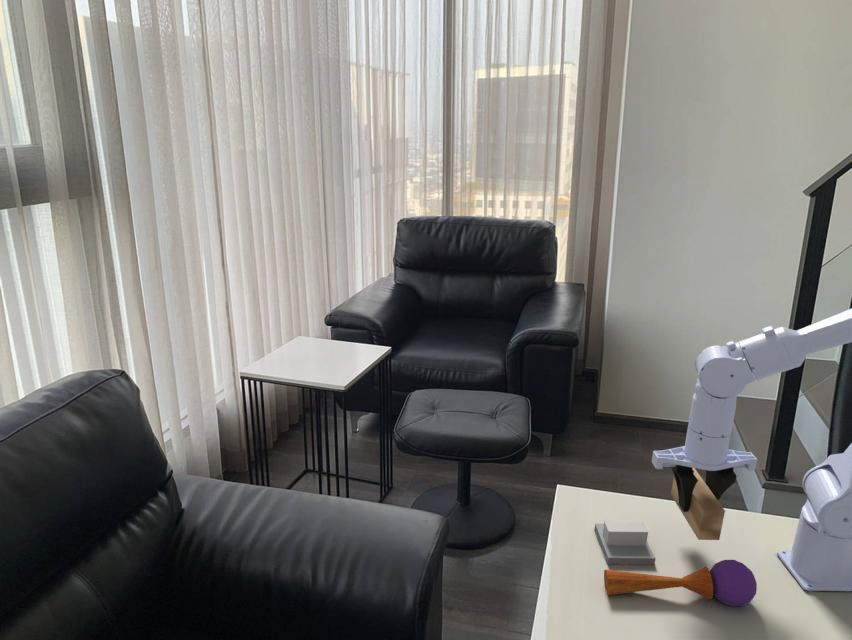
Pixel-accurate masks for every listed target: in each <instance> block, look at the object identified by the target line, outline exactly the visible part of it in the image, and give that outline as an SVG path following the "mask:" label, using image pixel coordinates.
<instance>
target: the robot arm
mask: <svg viewBox="0 0 852 640" xmlns="http://www.w3.org/2000/svg"><path fill="white" fill-rule="evenodd" d="M850 343H852V308H849V309H847V310H844V311H841V312H840V313H839V312H838V313H837V314H835V315H831V316H830V317H827V318H825V319H822V320H819V321H817V322H815V323H812V324H809V325H807V326H805V327H802V328H799V329H797V330H796V329H795V330H794V329H791V328H789V327H788V328H787V327H785V326H779V327H776V328H774V327H773V326H772V325H769V326H765V327H764V328H762V329H761V333H759V334H757V335H754V336H751V337H748V338H744V339H742V340H739V341H736V342H734V340H731V341H729V342H726V344H725V345H722V346H720V345H719V344H717V345H711V346H708V347H706V348H704V349H703V350H702V351H701V353H699V354H698V356H697V358H696V359H694V367H695V371H696V373H697V374H698V375H697V376H698V377H697V379H696V383H695V386H694V393H693V395H692V400H691V407H690V411H689V412H690V413H689V418H688V424H687V425H688V426H687V430H686V436H685V443H684V445H682V446H679V447H673V448H667V449H663V450H653V451H652V457H651V464H652V466H653V467H654V468H655V469H656V470H663V469H664V468H669V467H670V469H671V470H672V473H673V478H674V477H675V480H676V484H677V489H678V497H679V505H680V507H681V509H682V510H683V512H688V510H689V508H690V503H691V497H692V493H693V490H694V487H695V485H696V483H697V482H698V480H697V478H696V477H695V475H694V471H693V470H692V468H695V469H698V470H703V471H705V480H704V482H705V483H706V485H707V486H708V488H709V489H710V490H711V492H712V493H713V495H714V496H715V497H716V499H717V500H718V501H719V500H720V498H721V497H722V496H723V495H724V493H725V492H726V491H727V490H728V489H729V488H730V487H732V485H734V484H735V483H736V481H737V474H736V473H735V472H734V469H736V468H737V469H743V468H744V469H746V470H747V471H756V467H757V464H758V458H757V457H756V456H755V455H754V454H753V453H752V452H751V451H739V450H736V449H735V450H733V449H729V446H730V442H731V441H730V440H731V435H732V430H733V426H734V420H735V415H736V410H737V399H738V395H740V394H741V393H742V392H743V391H744V390H745V388H746V386H748V384H750V383H754V382H755V381H759V380H763V379H765V378H768V377H772V376H774V375H778V374H781V373H783V372H787V371H790V370H792V369H795V368H800V367H801V366H802V365H803V363H804V362H805V360H806V358H807V357H808V355H809V354H814V353H817V352H821V351H824V350H828V349H832V348H835V347H839V346H843V345H846V344H850ZM801 484H802V489H803V491H804V492H805V495H807V499H806V502H805V504H803V506H802V508H801V511H800V515H799V519H798V523H797V527H796V531H795V535H794V538H793V539H794V540H793V544H792V548H791V550H777V551H776V555H777V557H779V559H780V560H781V561H782V563H783V564H784V566H785V567H786V568H787V570H789V572H790V574H791V575H792V576H793V577H794V579H795V580H796V581H797V582H798V584H799V585H800V586H801V588H802V589H803V590H805V591H821V592H822V591H823V592H824V591H826V592H827V591H828V592H829V591H830V592H852V442H851V443H850V444H849V445H848V447H847V448H846V449H845V450H844V452H842V453H836V454H834V453H833V454H830V455H829V456H828V457H826V459H825V460H824V461H823V462H822V463H820V464H819V465H817V466H814V467H811V468H810V469H809V470H807V472H806V473H805V474H804V476H803V478H802V483H801Z"/></svg>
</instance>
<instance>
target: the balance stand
mask: <svg viewBox="0 0 852 640" xmlns="http://www.w3.org/2000/svg"><path fill="white" fill-rule="evenodd" d="M593 530H594V532H595V535H596V538H597V541H598V543H599V546H600V548H601V551H602V553H603V556H604V559H605V562H606V564H607V565H626V566H627V565H629V566H631V565H632V566H633V565H636V566H638V565H639V566H640V565H641V566H655V564H656V557H655V555H654V553H653V551H652V548H651V546H650V545H649V543H648V537H649V531H648V529H647V527H646V525H645V523H644V522H643V521H604V522H603V523H595V524H594V529H593Z"/></svg>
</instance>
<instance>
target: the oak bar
mask: <svg viewBox="0 0 852 640" xmlns="http://www.w3.org/2000/svg"><path fill="white" fill-rule="evenodd" d="M696 469H697V468H692V470H693V471H694V475H695V477H696V478H697V480H698V482H697V483H696V485H695V487H694V490H693V493H692V497H691V503H690V508H689V510H688V512H683V510H682V509H681V507H680V505H679V497H678V489H677V484H676V480H675V477H674V476H673V479H672V485H671V492H670V495H671V497H672V499H673V500H674V502H675V504H676V505H677V507H678V509H679V510H680V513H682V515H683V517H684V519H685V520H686V523H688V525H689V527H690V528H691V530H692V532H693V534H694V536H695V537H696V538H697V540H698V541H720V538H721V533H722V528H723V522H724V519H725V513H726V510H725V509H724V507H723V505H721V503H720V501H719V500H717V499H716V497H715V496H714V495H713V493H712V492H711V490H710V489H709V488H708V486H707V485H706V483H705V480H704V479H703V478H702V476H701V475H700V473H698V471H697V470H696Z"/></svg>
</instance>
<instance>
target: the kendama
mask: <svg viewBox="0 0 852 640" xmlns="http://www.w3.org/2000/svg"><path fill="white" fill-rule="evenodd" d="M603 570H604V571H603V580H604V588H605V592H606V595H607V596H608V595H609V596H611V595H619V594H627V593H629V594H630V593H639V592H645V591H646V592H647V591H656V590H664V589H674V588H675V589H676V588H685V589H686V590H689V591H691V592H693V593H695V594H698V595H700V596H703V597H704V598H707V600H708V599H709V600H712V599H713V596H714V597H715V598H717V600H719V601H720V602H721V603H722V604H725V605H727V606H730V607H744V606H745V605H748V604H749V603H751V601H753V599H754V597H756V595H757V589H758V588H757V587H758V586H757V585H758V584H757V580H756V577H755V575H754V573H753V571H752V570H751V569H750V568H749V567H748V566H746V564H744V563H743V562H741V561H738V560H736V559H723V560H720V561H718V562H716V563H714V564H713V566H712V567H711V568H710V569H709V567H707V566H706V565H705V566H702V567H700V568H699V569H697V570H695V571H693V572H691V573H689V574H687V575H684V576H683V577H674V576H673V577H672V576H665V575H658V574H657V575H656V574H648V573H639V572H629V571H621V570H612V569H603Z"/></svg>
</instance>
